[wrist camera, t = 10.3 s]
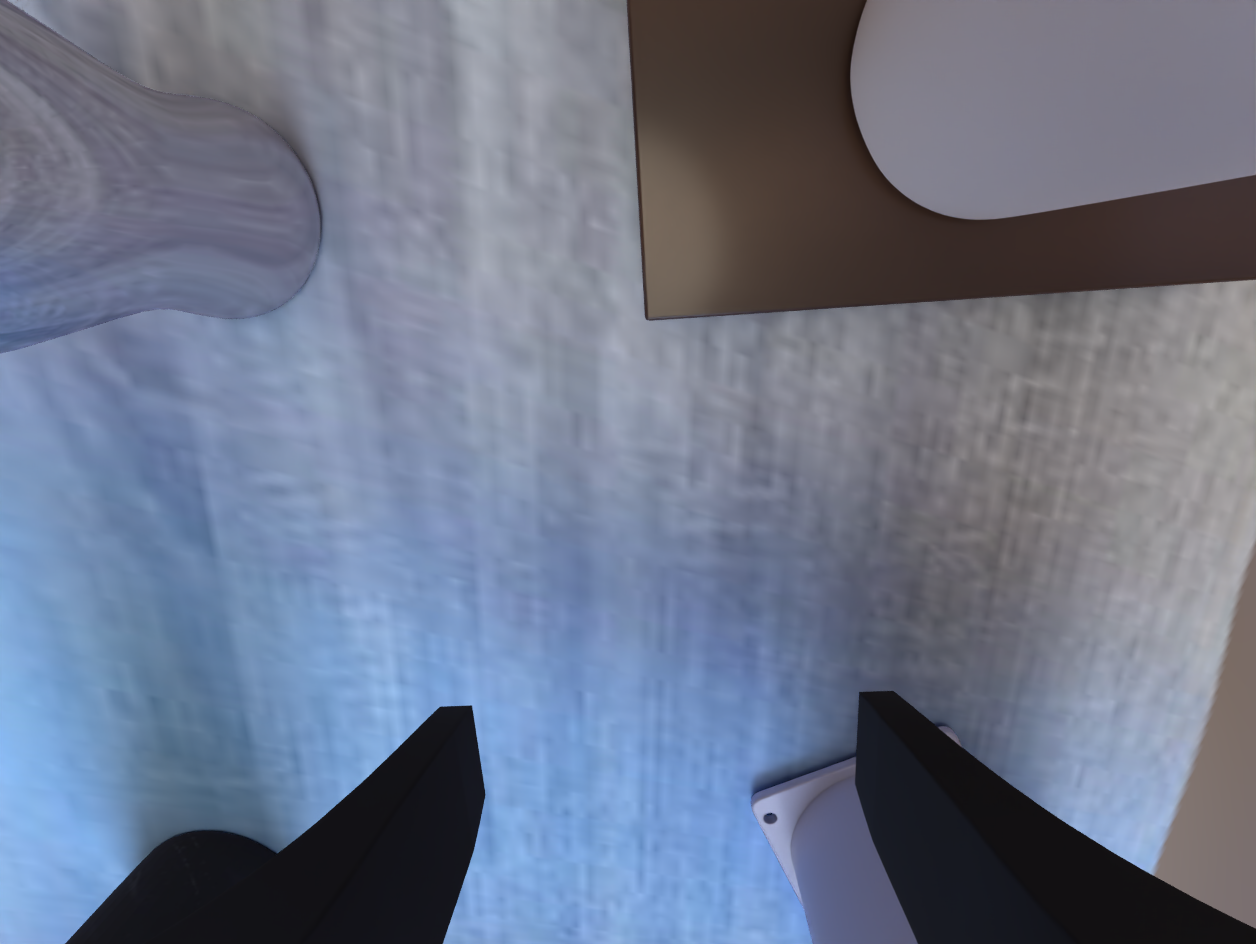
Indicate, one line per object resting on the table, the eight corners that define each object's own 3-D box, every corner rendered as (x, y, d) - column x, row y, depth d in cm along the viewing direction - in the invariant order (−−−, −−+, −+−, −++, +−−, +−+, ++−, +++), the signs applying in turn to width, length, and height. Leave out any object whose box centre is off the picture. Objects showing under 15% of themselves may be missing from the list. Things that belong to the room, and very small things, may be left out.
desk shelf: (1184, 277, 19) (1365, 275, 14) (645, 313, 20) (645, 323, 15) (1254, -136, 16) (1511, -313, 11) (623, -76, 17) (614, -218, 12)
